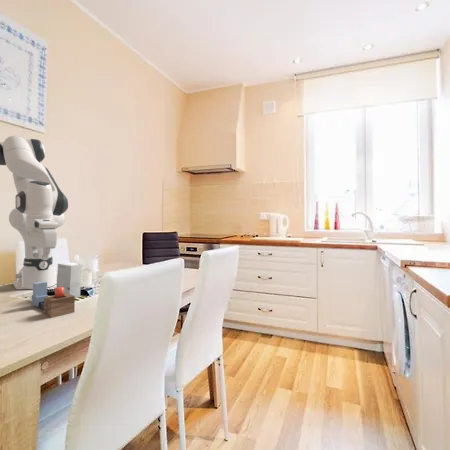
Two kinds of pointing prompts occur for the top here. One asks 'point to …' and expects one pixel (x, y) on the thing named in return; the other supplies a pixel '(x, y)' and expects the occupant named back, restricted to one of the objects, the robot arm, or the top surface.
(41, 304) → the rail
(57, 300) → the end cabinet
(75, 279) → the skincare box
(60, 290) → the button
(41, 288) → the light blue stepped block
